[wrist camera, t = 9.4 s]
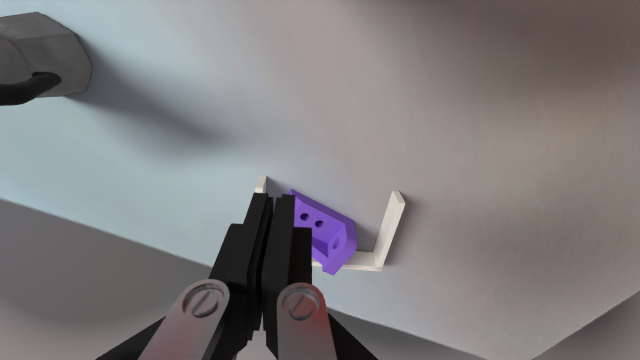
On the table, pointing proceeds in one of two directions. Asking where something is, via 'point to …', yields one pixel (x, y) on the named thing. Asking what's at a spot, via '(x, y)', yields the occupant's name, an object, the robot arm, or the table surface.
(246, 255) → the robot arm
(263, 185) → the white u-shaped fence
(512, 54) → the table surface
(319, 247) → the bracket
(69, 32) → the coffeepot
